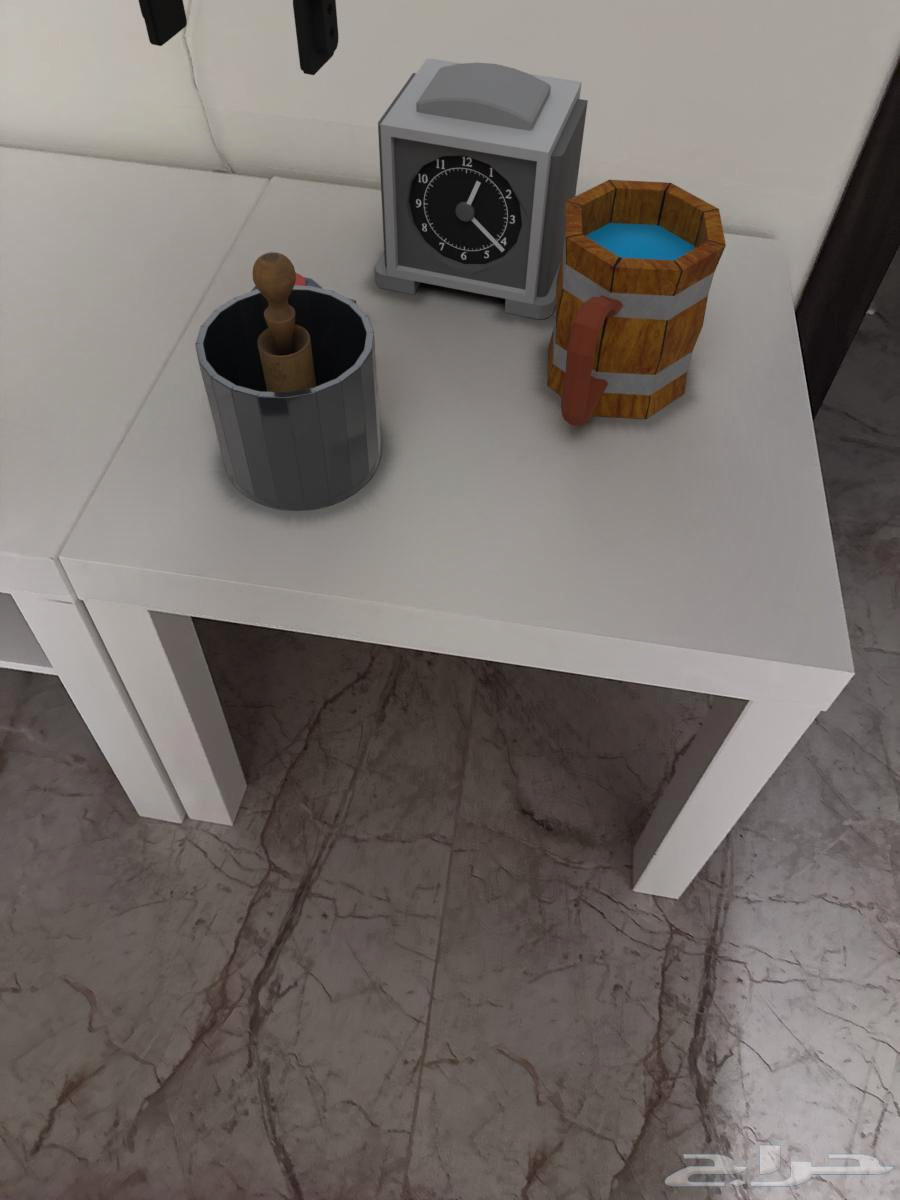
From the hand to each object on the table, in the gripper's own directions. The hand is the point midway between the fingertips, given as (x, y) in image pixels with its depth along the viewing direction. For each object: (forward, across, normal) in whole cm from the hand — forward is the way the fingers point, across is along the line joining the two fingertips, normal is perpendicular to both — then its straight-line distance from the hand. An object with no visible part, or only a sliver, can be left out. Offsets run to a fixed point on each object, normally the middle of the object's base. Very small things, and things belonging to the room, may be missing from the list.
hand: (242, 49), depth 54 cm
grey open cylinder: (+32, 0, -1) cm, 32 cm away
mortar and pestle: (+31, 0, -1) cm, 31 cm away
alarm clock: (+32, +5, +30) cm, 45 cm away
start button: (+28, -8, +14) cm, 33 cm away
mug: (+32, +22, +16) cm, 42 cm away
